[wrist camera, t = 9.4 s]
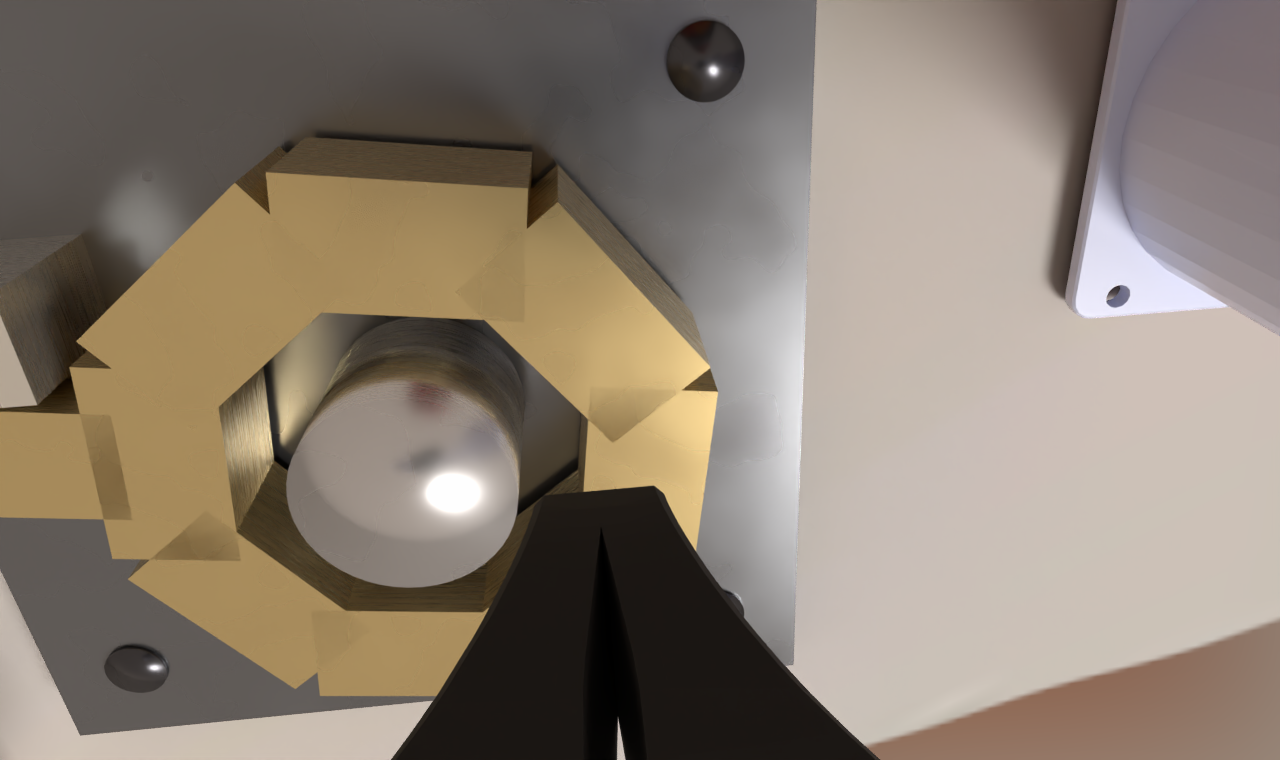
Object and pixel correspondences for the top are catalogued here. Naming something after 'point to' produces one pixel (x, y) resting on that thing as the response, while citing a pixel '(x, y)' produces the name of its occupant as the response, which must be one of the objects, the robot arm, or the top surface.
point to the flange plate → (400, 345)
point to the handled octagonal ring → (351, 284)
